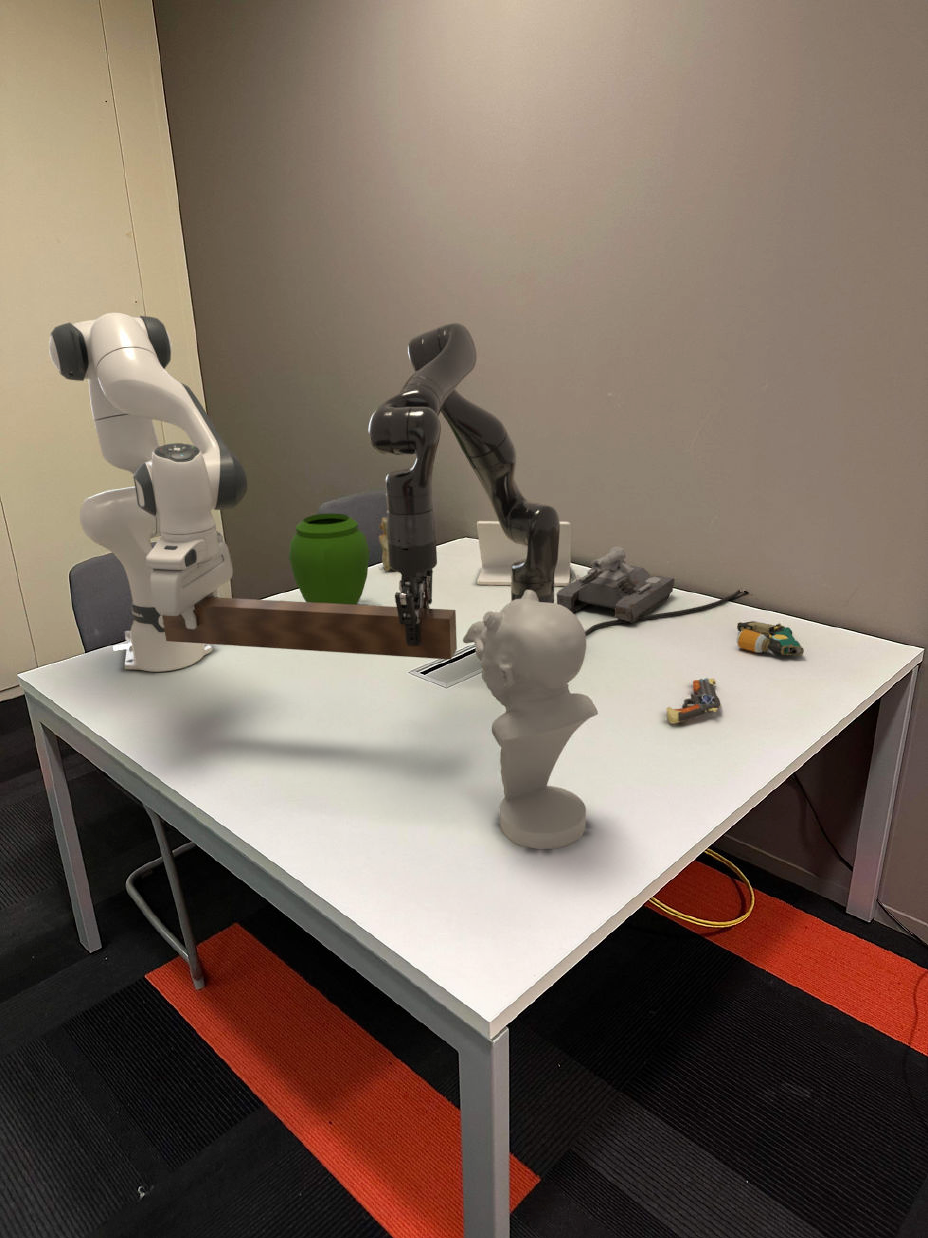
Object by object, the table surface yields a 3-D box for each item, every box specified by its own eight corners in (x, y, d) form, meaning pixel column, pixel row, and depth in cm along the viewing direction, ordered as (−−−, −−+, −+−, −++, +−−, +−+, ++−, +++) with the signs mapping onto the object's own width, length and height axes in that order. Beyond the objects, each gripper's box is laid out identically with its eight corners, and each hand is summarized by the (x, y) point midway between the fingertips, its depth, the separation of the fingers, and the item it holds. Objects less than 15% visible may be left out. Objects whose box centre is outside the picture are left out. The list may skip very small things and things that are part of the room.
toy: (603, 584, 229) (605, 530, 224) (673, 597, 218) (677, 540, 213) (555, 612, 210) (556, 553, 205) (630, 627, 199) (633, 566, 194)
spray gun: (738, 629, 198) (807, 640, 192) (727, 651, 184) (801, 664, 178) (740, 612, 197) (810, 622, 191) (729, 633, 182) (804, 645, 176)
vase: (389, 608, 216) (383, 514, 208) (339, 633, 201) (330, 533, 192) (330, 596, 226) (322, 506, 218) (278, 619, 211) (267, 523, 202)
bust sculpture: (526, 759, 144) (526, 560, 132) (615, 831, 124) (624, 605, 112) (442, 785, 137) (433, 578, 125) (521, 866, 117) (520, 629, 105)
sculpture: (401, 564, 252) (398, 514, 246) (400, 571, 245) (397, 520, 240) (381, 565, 251) (378, 515, 246) (380, 572, 245) (377, 521, 239)
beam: (457, 649, 140) (455, 609, 138) (451, 659, 137) (449, 619, 134) (179, 632, 151) (173, 595, 149) (166, 641, 147) (159, 603, 145)
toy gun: (667, 713, 153) (725, 711, 151) (663, 676, 171) (714, 673, 169) (668, 727, 154) (725, 725, 151) (664, 689, 171) (715, 686, 169)
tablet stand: (569, 585, 229) (570, 524, 223) (476, 584, 232) (475, 523, 226) (570, 566, 246) (571, 508, 240) (484, 564, 249) (483, 507, 243)
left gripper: (204, 526, 152) (213, 599, 157) (139, 561, 133) (152, 642, 138) (236, 528, 151) (245, 601, 156) (175, 563, 132) (188, 645, 137)
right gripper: (401, 525, 140) (408, 622, 146) (374, 550, 127) (382, 655, 133) (446, 526, 138) (450, 624, 145) (422, 551, 125) (428, 658, 132)
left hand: (201, 621), depth 147 cm, fingers closed on beam, 4 cm apart
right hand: (417, 638), depth 139 cm, fingers closed on beam, 4 cm apart
